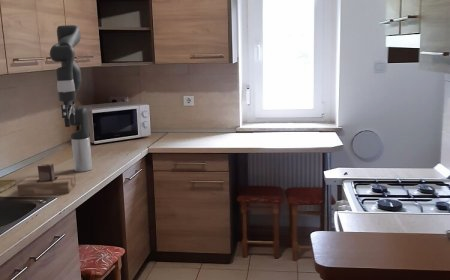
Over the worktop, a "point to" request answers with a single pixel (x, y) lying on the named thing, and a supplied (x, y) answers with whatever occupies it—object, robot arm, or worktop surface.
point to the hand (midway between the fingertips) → (70, 125)
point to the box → (46, 173)
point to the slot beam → (46, 186)
